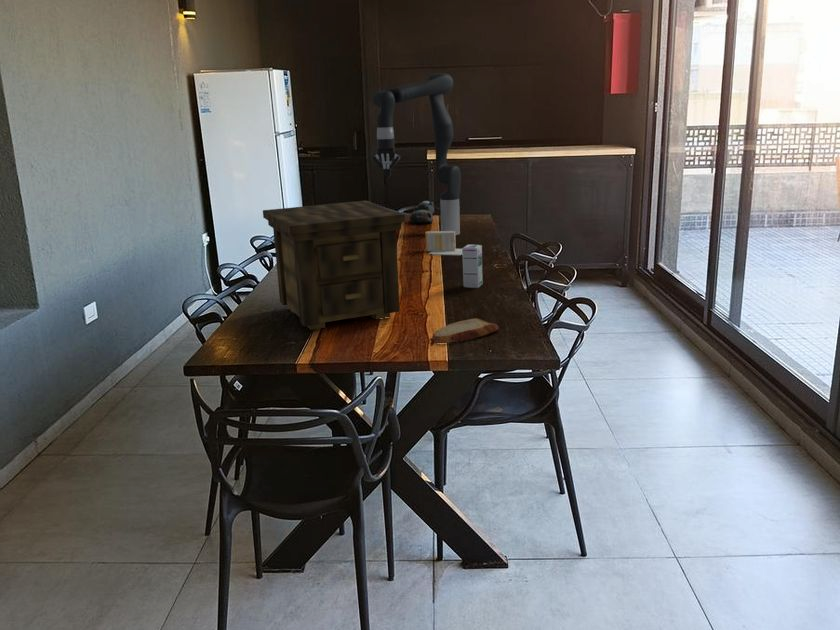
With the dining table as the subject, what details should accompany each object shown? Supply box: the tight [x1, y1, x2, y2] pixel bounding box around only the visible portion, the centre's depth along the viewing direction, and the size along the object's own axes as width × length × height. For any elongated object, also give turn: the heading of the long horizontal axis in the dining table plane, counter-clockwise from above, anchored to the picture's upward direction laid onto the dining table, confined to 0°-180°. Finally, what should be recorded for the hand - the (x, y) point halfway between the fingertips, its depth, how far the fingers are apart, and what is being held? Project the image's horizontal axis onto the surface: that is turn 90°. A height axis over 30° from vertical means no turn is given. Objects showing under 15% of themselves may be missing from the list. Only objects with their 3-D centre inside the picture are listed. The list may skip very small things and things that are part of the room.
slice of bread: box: [431, 317, 499, 344], centre depth 209 cm, size 18×18×4 cm
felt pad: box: [428, 248, 462, 256], centre depth 318 cm, size 12×18×1 cm, turn 75°
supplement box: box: [424, 230, 457, 252], centre depth 320 cm, size 8×5×13 cm
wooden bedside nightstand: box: [262, 200, 407, 331], centre depth 230 cm, size 35×35×33 cm
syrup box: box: [461, 244, 484, 289], centre depth 260 cm, size 6×6×14 cm
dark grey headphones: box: [407, 200, 435, 224], centre depth 392 cm, size 15×12×14 cm
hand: (387, 177), depth 329 cm, fingers closed
